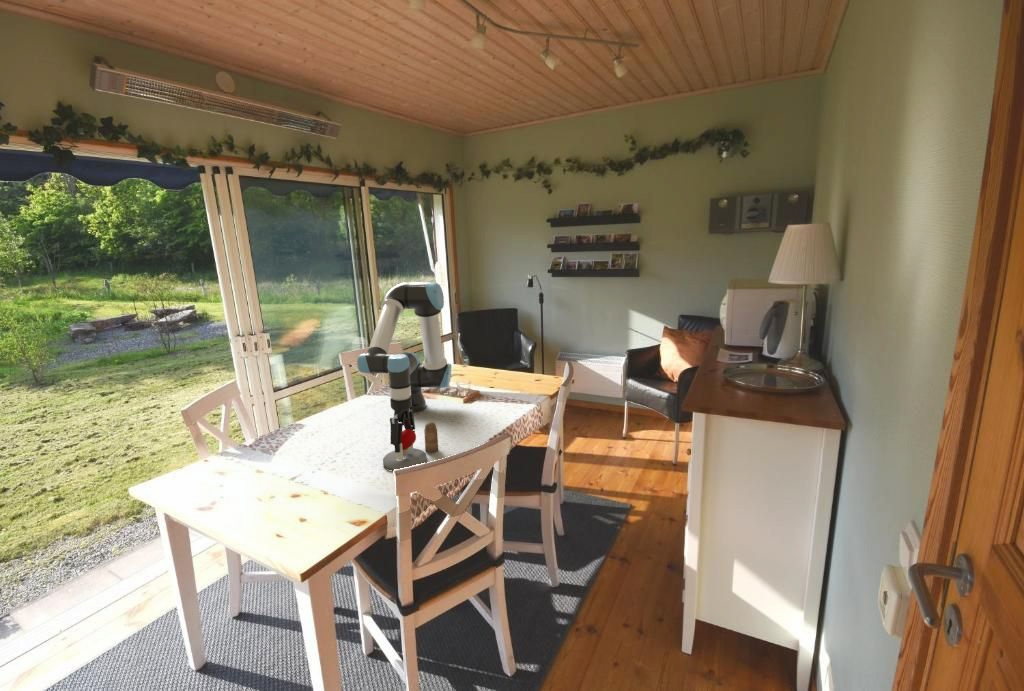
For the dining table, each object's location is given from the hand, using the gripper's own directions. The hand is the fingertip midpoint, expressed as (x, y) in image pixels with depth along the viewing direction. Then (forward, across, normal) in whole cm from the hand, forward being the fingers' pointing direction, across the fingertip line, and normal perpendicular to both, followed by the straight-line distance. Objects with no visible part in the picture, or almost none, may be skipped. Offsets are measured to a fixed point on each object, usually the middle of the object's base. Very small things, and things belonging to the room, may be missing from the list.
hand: (404, 454), depth 179 cm
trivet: (+3, 0, 0) cm, 3 cm away
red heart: (0, 0, 0) cm, 0 cm away
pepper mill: (+3, -11, +6) cm, 13 cm away
